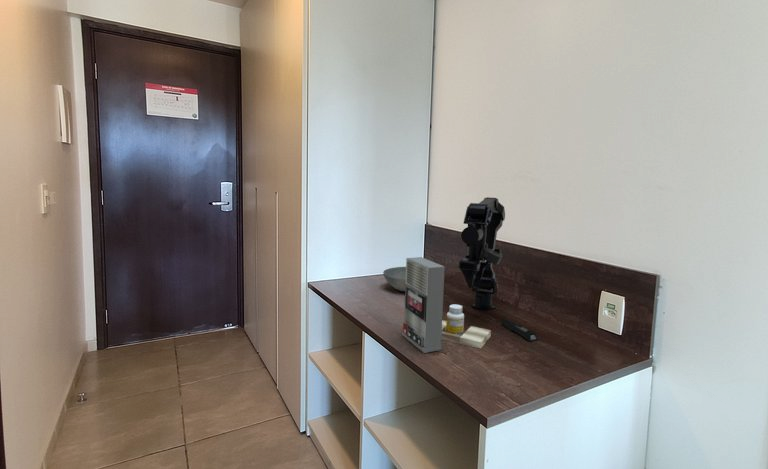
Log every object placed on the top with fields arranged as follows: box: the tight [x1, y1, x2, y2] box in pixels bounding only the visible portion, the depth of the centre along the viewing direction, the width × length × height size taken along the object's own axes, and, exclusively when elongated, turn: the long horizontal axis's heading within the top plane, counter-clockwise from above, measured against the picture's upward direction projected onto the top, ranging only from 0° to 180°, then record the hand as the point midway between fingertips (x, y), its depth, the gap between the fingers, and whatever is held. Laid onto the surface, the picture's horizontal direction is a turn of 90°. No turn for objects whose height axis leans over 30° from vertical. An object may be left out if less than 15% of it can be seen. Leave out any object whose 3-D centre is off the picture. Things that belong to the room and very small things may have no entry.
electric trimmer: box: [500, 316, 538, 343], centre depth 134 cm, size 4×16×3 cm, turn 21°
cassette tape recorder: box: [401, 256, 446, 354], centre depth 122 cm, size 14×6×25 cm, turn 24°
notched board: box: [441, 319, 492, 349], centre depth 130 cm, size 11×17×2 cm, turn 61°
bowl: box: [382, 266, 406, 292], centre depth 181 cm, size 21×21×8 cm
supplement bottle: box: [446, 304, 465, 336], centre depth 130 cm, size 5×5×10 cm
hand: (474, 284), depth 142 cm, fingers open, 9 cm apart
